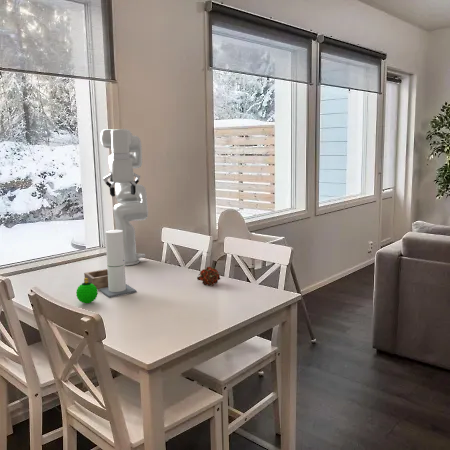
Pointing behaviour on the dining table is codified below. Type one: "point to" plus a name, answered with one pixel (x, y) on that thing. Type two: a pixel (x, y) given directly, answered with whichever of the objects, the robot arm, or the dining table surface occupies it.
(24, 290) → the dining table surface
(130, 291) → the mat
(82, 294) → the ornament
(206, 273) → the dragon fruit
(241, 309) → the dining table surface
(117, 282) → the cylindrical container
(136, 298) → the dining table surface
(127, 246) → the robot arm
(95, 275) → the box
